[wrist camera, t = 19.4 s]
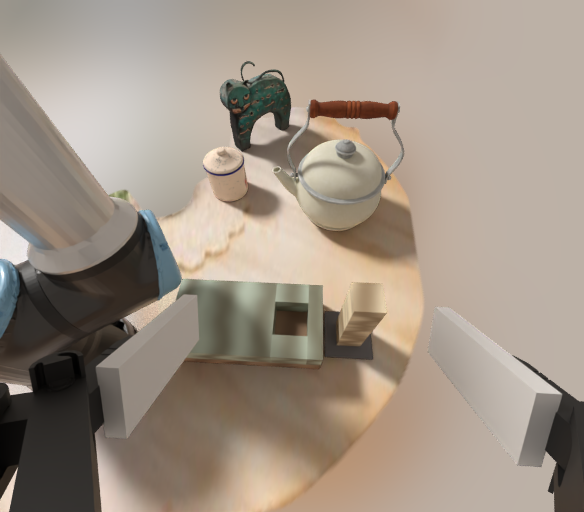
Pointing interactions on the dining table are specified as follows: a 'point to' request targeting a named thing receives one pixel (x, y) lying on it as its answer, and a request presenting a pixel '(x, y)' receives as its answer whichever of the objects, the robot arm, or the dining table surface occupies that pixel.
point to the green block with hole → (257, 323)
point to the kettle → (340, 169)
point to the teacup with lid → (226, 173)
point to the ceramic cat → (255, 103)
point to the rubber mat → (339, 350)
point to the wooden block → (360, 313)
